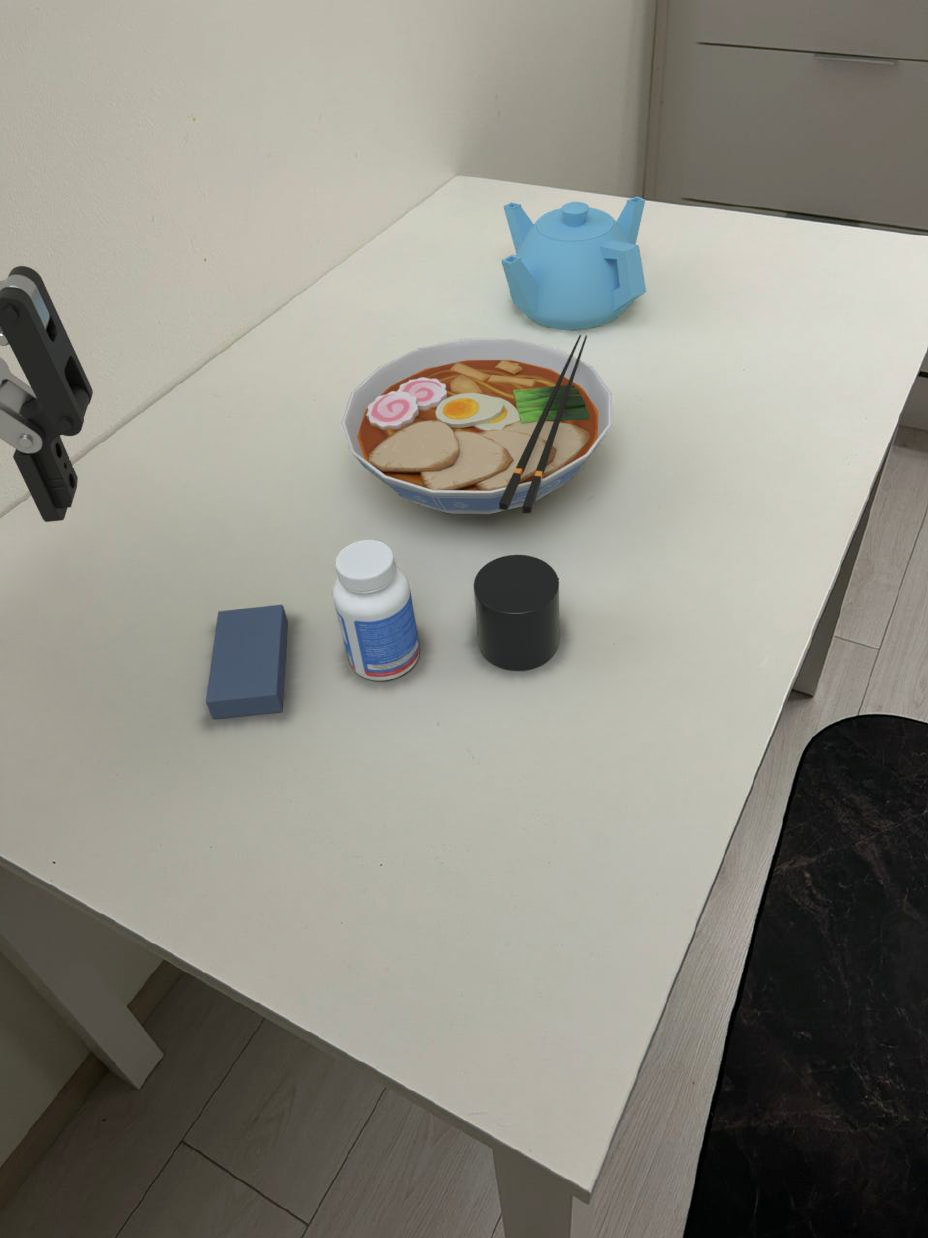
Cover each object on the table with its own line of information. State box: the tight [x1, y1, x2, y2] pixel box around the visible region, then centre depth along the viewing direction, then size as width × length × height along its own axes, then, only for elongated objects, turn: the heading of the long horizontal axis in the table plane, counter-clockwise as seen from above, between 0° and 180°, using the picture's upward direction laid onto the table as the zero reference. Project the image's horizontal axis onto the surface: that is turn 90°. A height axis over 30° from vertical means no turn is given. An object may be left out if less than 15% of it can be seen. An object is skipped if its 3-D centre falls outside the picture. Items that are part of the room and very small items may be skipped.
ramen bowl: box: [340, 334, 613, 515], centre depth 84 cm, size 25×23×8 cm
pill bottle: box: [332, 539, 421, 682], centre depth 69 cm, size 6×5×10 cm
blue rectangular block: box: [205, 604, 289, 720], centre depth 72 cm, size 9×5×2 cm, turn 5°
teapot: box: [501, 196, 647, 331], centre depth 103 cm, size 15×15×11 cm
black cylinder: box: [473, 554, 560, 672], centre depth 70 cm, size 6×6×6 cm
